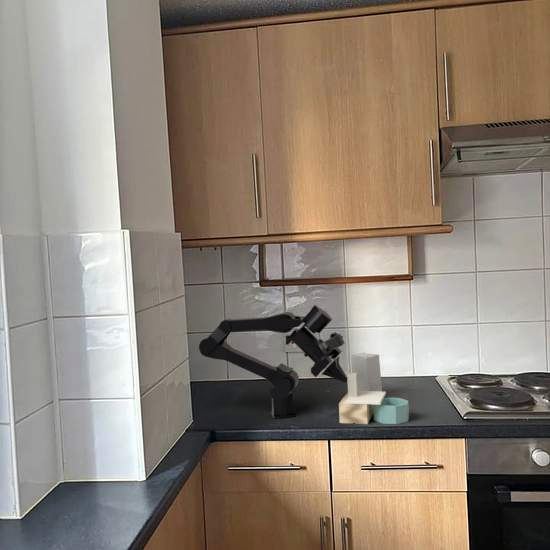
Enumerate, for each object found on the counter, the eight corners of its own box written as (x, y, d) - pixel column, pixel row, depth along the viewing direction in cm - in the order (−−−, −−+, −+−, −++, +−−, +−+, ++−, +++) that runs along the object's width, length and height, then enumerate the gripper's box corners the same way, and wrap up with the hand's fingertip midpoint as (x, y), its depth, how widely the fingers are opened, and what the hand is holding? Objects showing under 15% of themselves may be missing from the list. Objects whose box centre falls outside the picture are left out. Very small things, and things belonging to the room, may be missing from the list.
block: (339, 422, 170) (338, 403, 169) (347, 411, 181) (346, 393, 181) (367, 424, 167) (366, 404, 167) (373, 412, 179) (373, 394, 178)
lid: (345, 403, 169) (344, 378, 169) (352, 393, 180) (351, 369, 180) (380, 404, 166) (379, 378, 165) (385, 394, 177) (384, 370, 177)
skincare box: (383, 399, 193) (381, 354, 193) (369, 403, 190) (367, 357, 189) (365, 395, 200) (363, 351, 200) (352, 398, 197) (350, 354, 196)
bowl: (372, 423, 168) (371, 405, 168) (377, 413, 177) (376, 397, 177) (406, 424, 165) (406, 406, 165) (409, 415, 174) (409, 398, 174)
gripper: (319, 329, 167) (360, 368, 164) (333, 321, 184) (370, 356, 181) (294, 357, 169) (334, 396, 166) (310, 346, 187) (346, 381, 184)
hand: (347, 381), depth 174 cm, fingers closed, pressing on lid
